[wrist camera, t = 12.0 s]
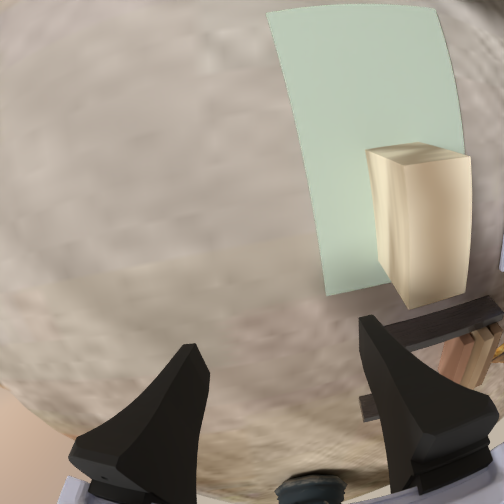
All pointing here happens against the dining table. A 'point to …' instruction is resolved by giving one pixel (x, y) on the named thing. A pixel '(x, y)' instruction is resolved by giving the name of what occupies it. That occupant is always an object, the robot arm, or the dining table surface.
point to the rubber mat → (361, 114)
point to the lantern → (312, 490)
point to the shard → (499, 355)
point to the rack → (437, 333)
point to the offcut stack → (470, 356)
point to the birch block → (422, 219)
